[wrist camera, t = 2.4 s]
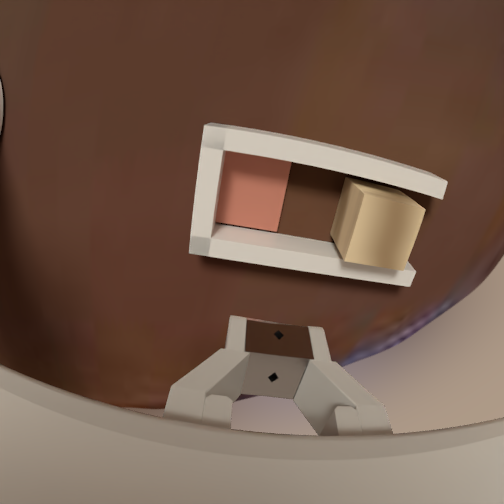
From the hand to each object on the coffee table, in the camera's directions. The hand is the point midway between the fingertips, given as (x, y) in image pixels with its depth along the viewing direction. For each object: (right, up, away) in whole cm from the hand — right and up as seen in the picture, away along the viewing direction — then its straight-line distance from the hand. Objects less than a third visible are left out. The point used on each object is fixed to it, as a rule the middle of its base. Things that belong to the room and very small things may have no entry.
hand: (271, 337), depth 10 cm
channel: (+5, +7, +15) cm, 17 cm away
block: (+9, +6, +16) cm, 19 cm away
